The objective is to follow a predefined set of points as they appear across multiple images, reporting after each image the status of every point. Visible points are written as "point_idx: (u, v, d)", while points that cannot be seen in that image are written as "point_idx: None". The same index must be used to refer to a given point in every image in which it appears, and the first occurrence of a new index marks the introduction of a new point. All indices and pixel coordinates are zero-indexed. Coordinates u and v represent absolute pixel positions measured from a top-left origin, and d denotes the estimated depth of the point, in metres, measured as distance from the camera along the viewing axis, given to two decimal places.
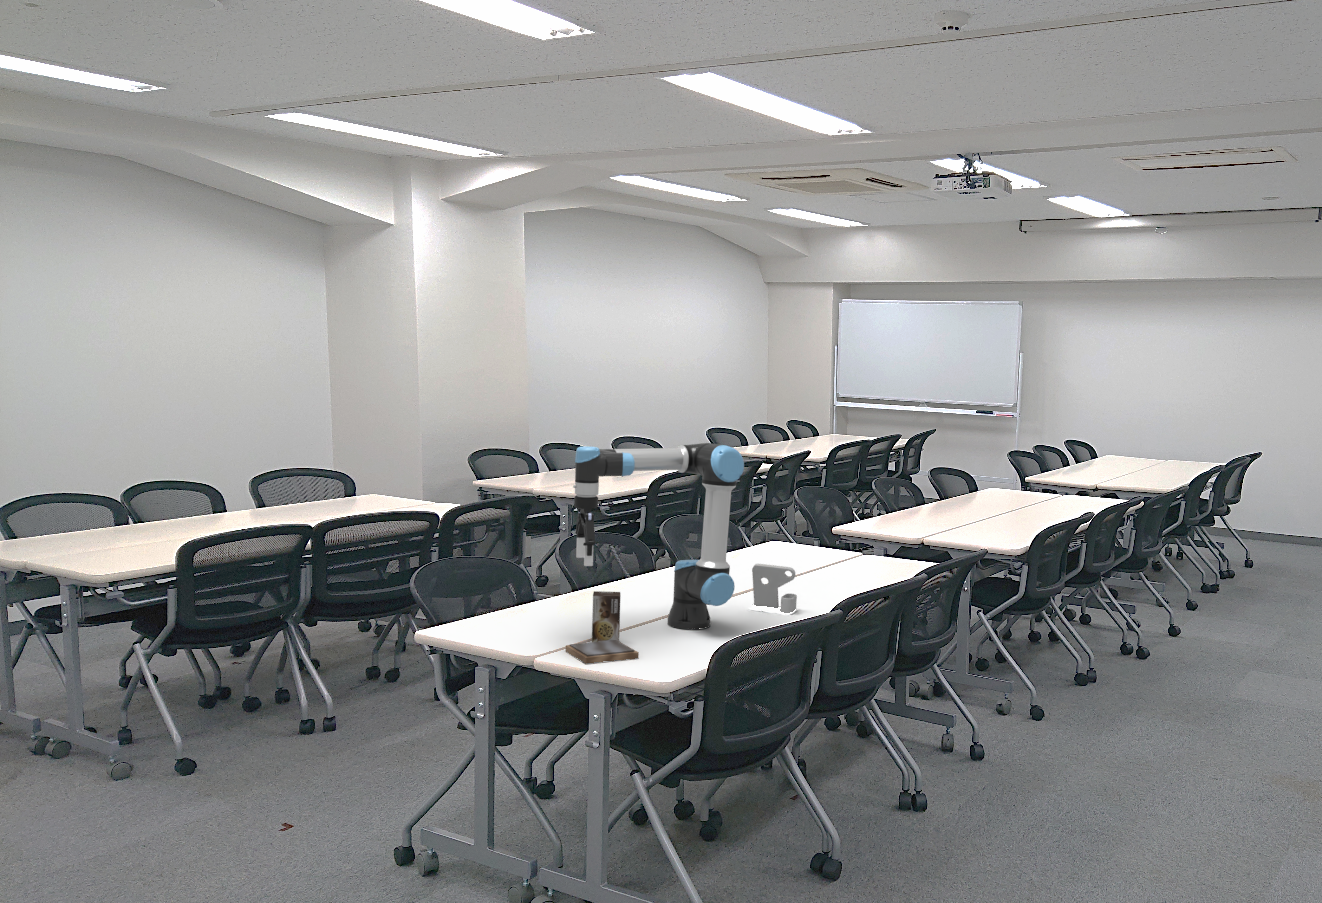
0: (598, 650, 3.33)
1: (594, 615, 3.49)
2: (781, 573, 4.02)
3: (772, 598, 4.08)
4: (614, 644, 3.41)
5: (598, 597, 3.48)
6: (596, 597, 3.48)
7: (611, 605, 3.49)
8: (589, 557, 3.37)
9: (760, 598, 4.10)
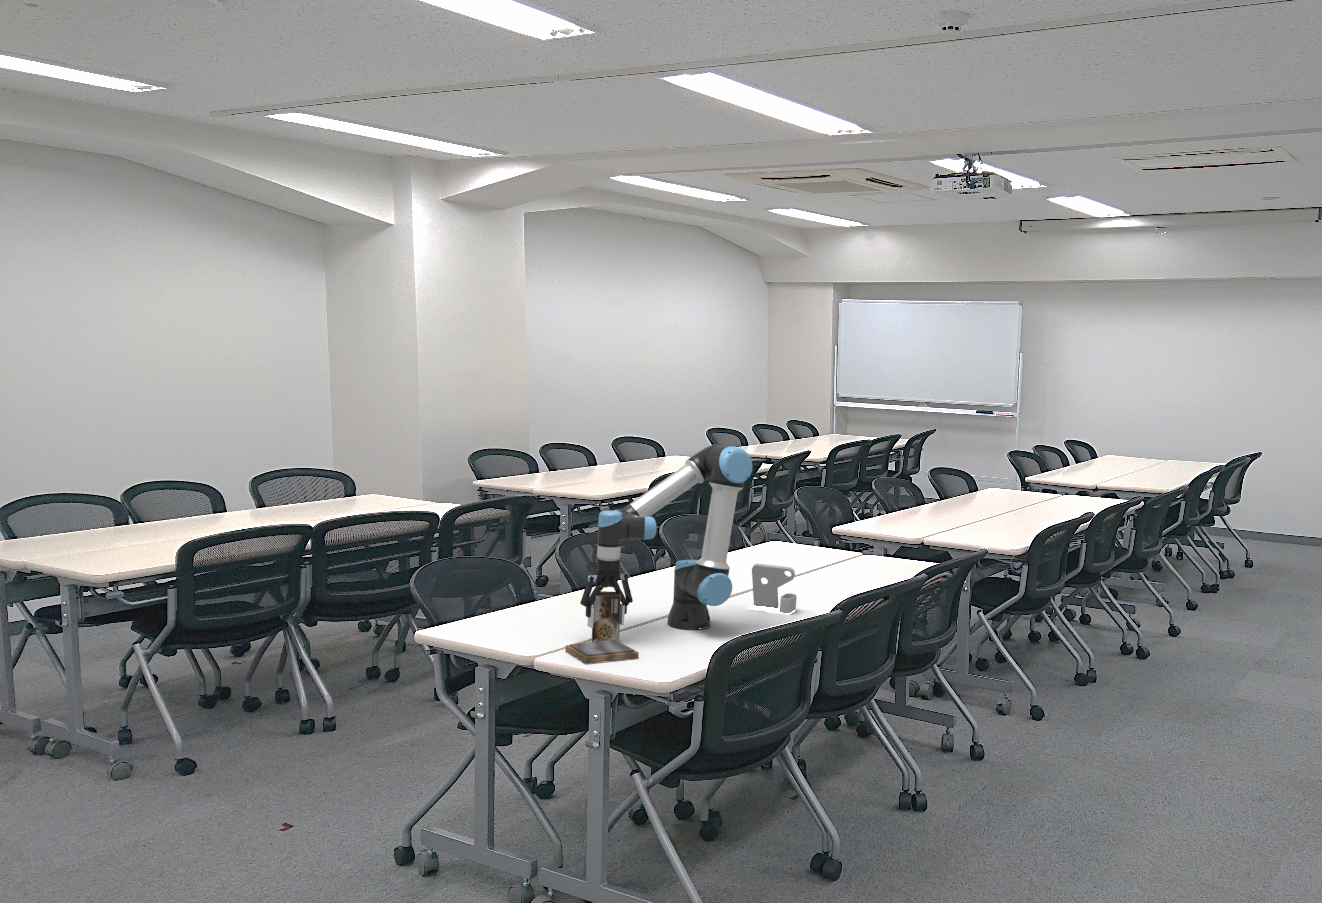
0: (598, 650, 3.33)
1: (594, 615, 3.49)
2: (780, 573, 4.02)
3: (772, 598, 4.08)
4: (614, 644, 3.41)
5: (598, 597, 3.48)
6: (596, 597, 3.48)
7: (611, 605, 3.49)
8: (589, 618, 3.49)
9: (760, 598, 4.10)
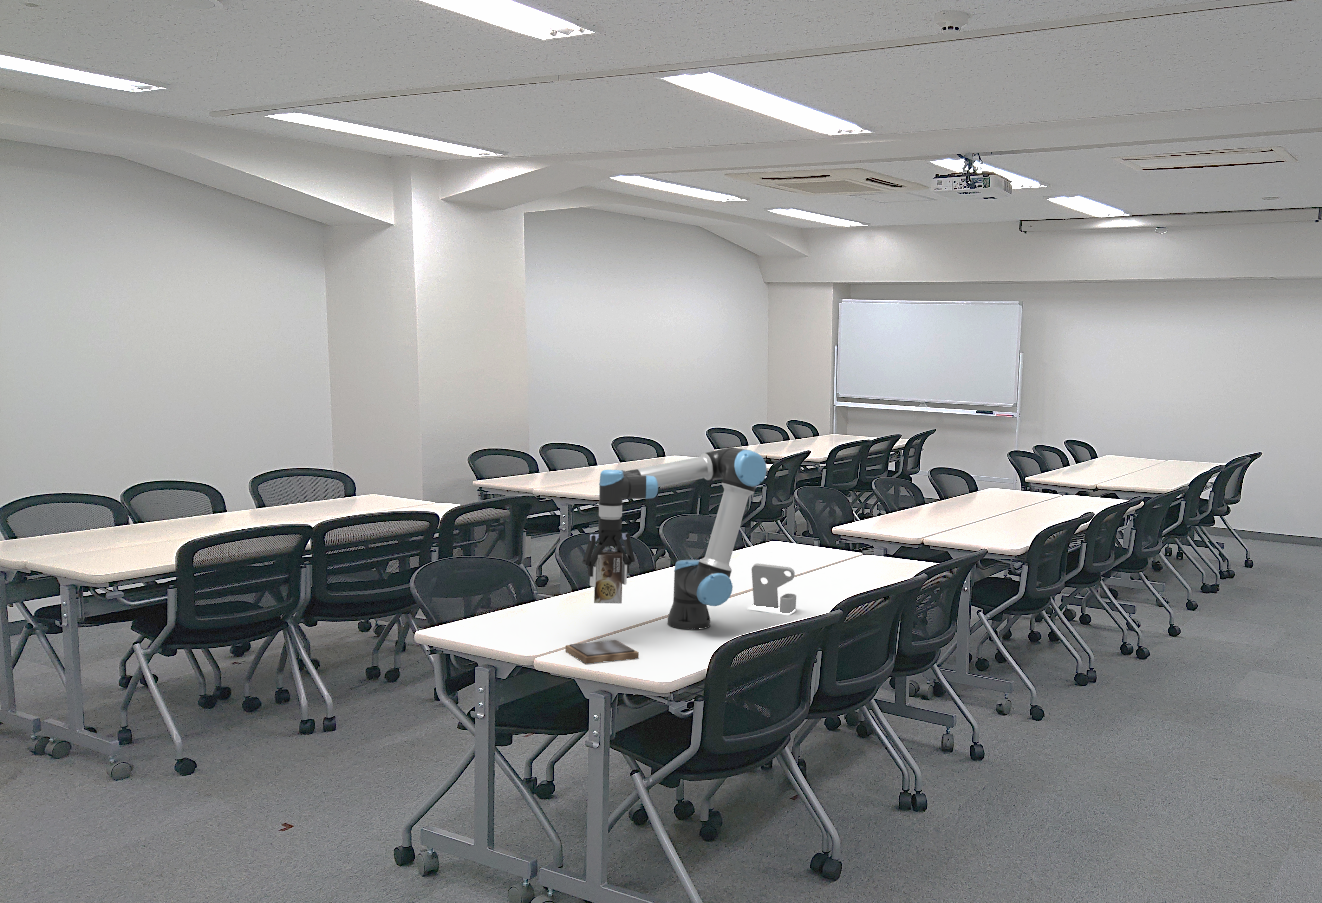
0: (598, 650, 3.33)
1: (596, 574, 3.48)
2: (780, 573, 4.02)
3: (771, 598, 4.08)
4: (614, 644, 3.41)
5: (600, 556, 3.47)
6: (598, 556, 3.47)
7: (613, 564, 3.48)
8: (592, 578, 3.48)
9: (760, 598, 4.10)
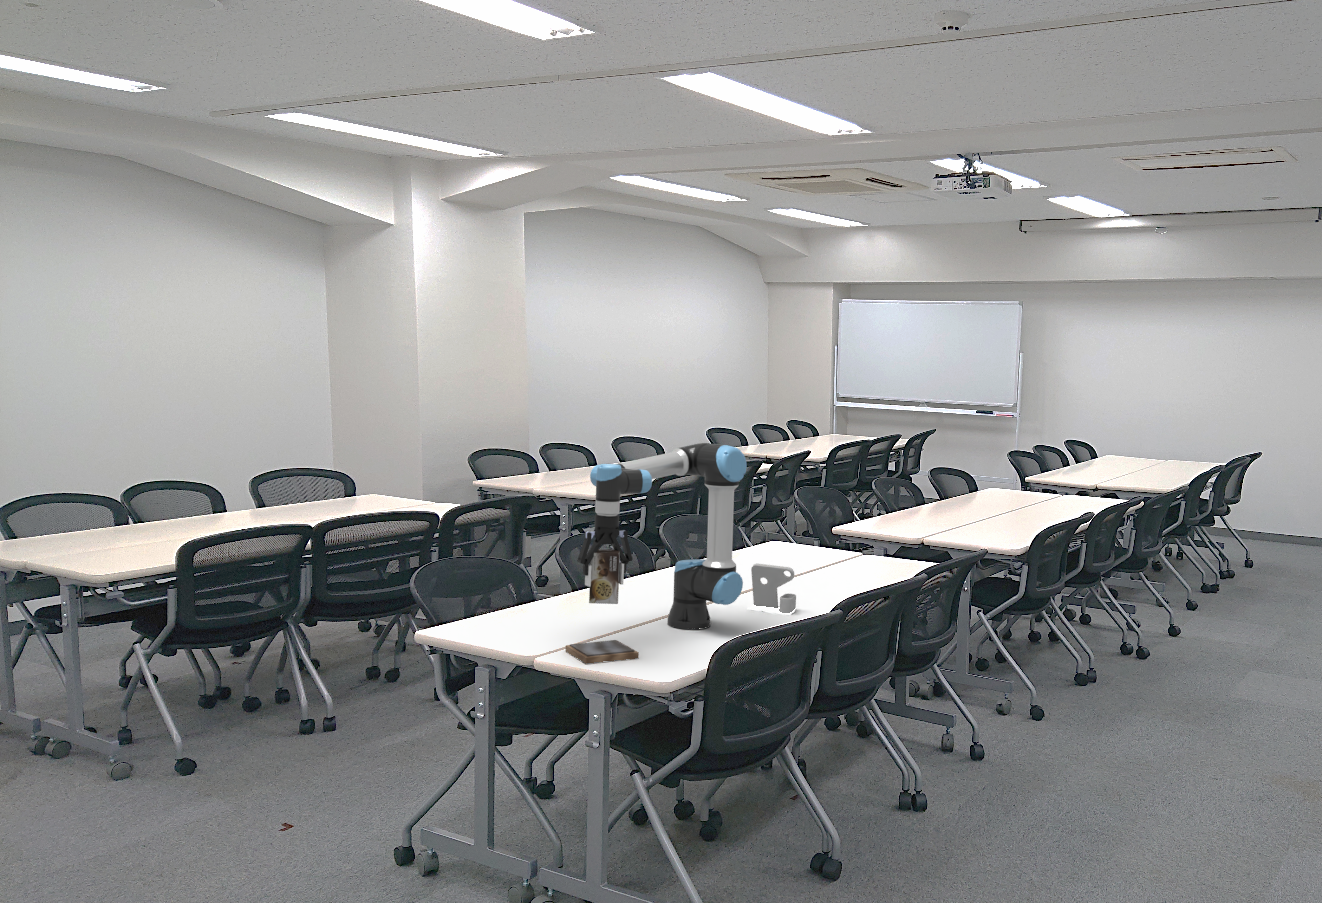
0: (598, 650, 3.33)
1: (592, 573, 3.32)
2: (780, 573, 4.02)
3: (771, 598, 4.08)
4: (614, 644, 3.41)
5: (596, 554, 3.32)
6: (594, 554, 3.32)
7: (609, 563, 3.32)
8: (587, 577, 3.32)
9: (759, 598, 4.10)
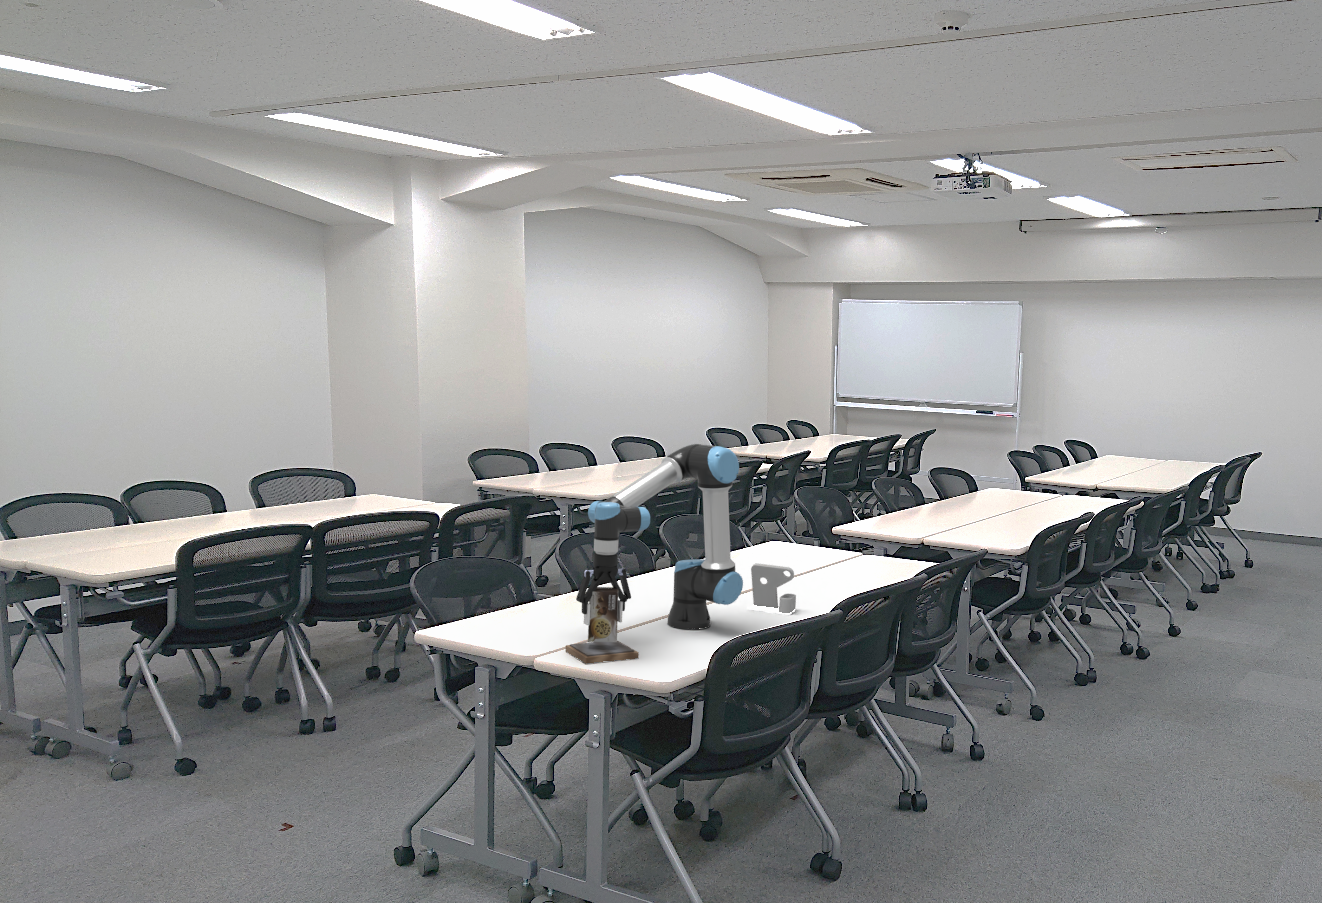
0: (598, 650, 3.33)
1: (590, 612, 3.32)
2: (780, 573, 4.02)
3: (771, 598, 4.08)
4: (614, 644, 3.41)
5: (595, 593, 3.32)
6: (593, 593, 3.32)
7: (608, 601, 3.32)
8: (586, 615, 3.33)
9: (759, 598, 4.10)
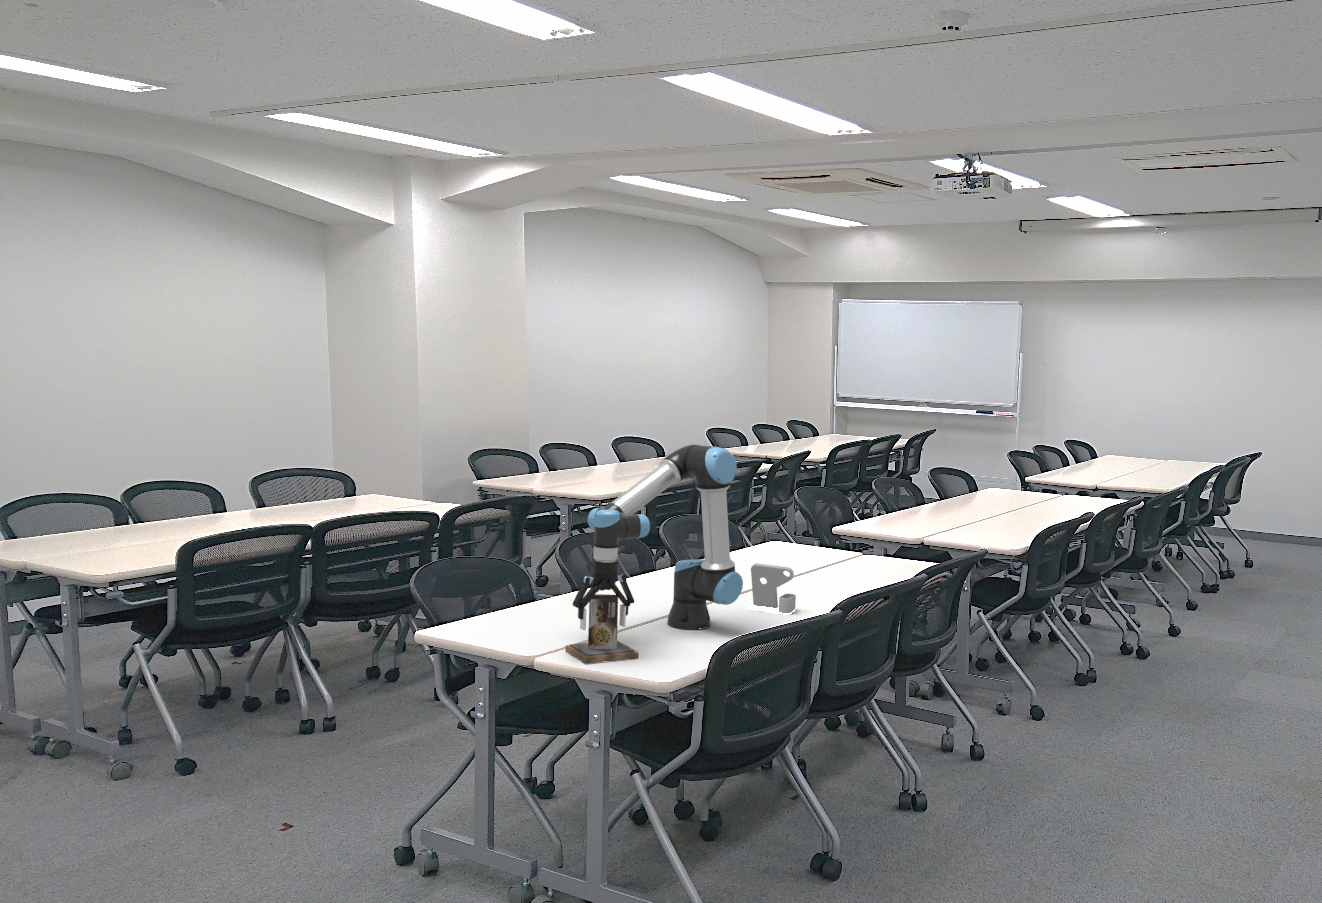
0: (598, 650, 3.33)
1: (590, 619, 3.33)
2: (779, 573, 4.02)
3: (771, 598, 4.08)
4: None
5: (595, 600, 3.32)
6: (592, 600, 3.32)
7: (608, 609, 3.33)
8: (582, 620, 3.32)
9: (759, 598, 4.10)
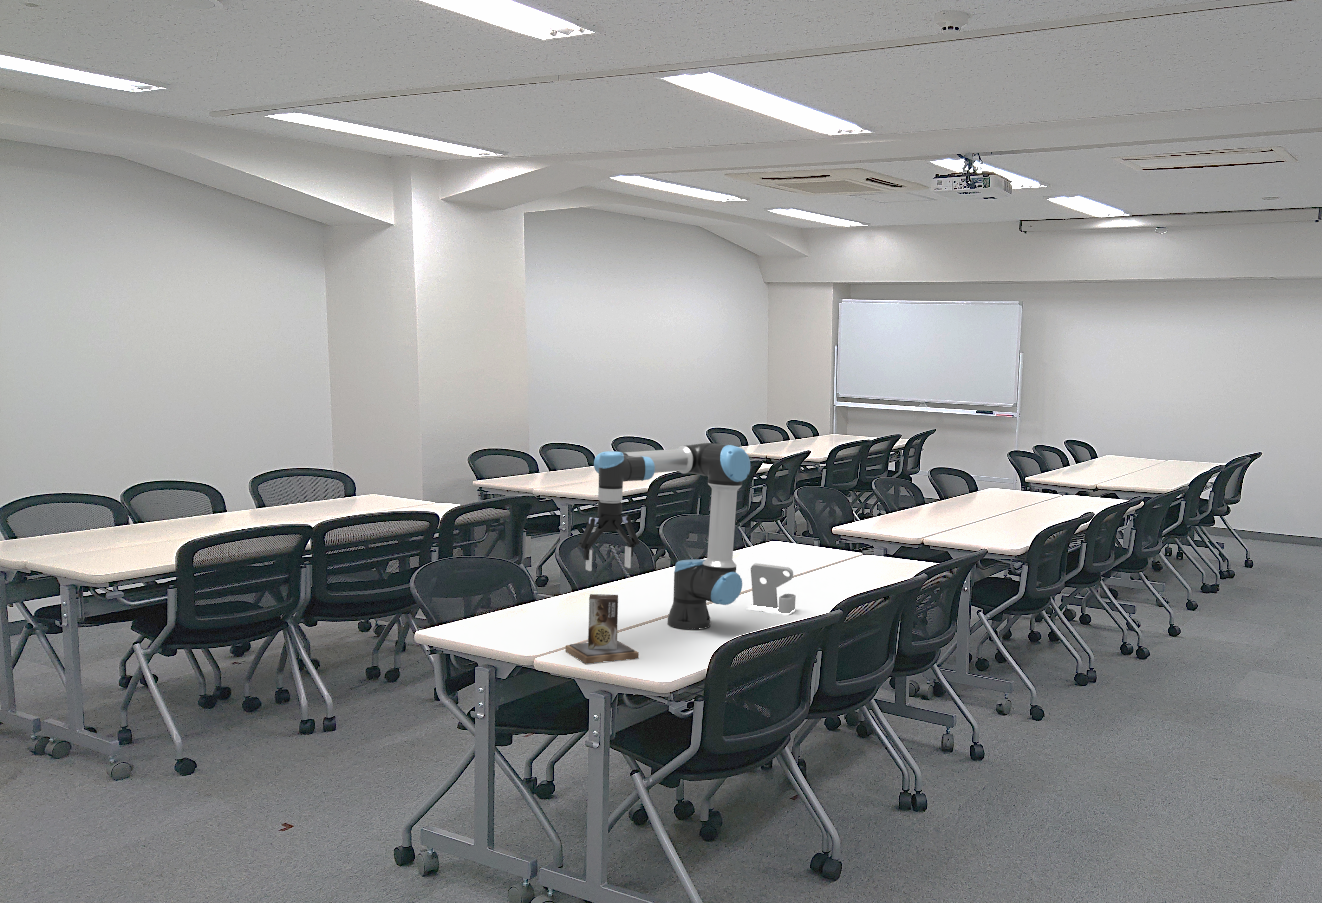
0: (598, 650, 3.33)
1: (590, 619, 3.33)
2: (779, 573, 4.02)
3: (771, 598, 4.08)
4: None
5: (595, 600, 3.32)
6: (592, 600, 3.32)
7: (608, 609, 3.33)
8: (587, 561, 3.34)
9: (759, 598, 4.10)
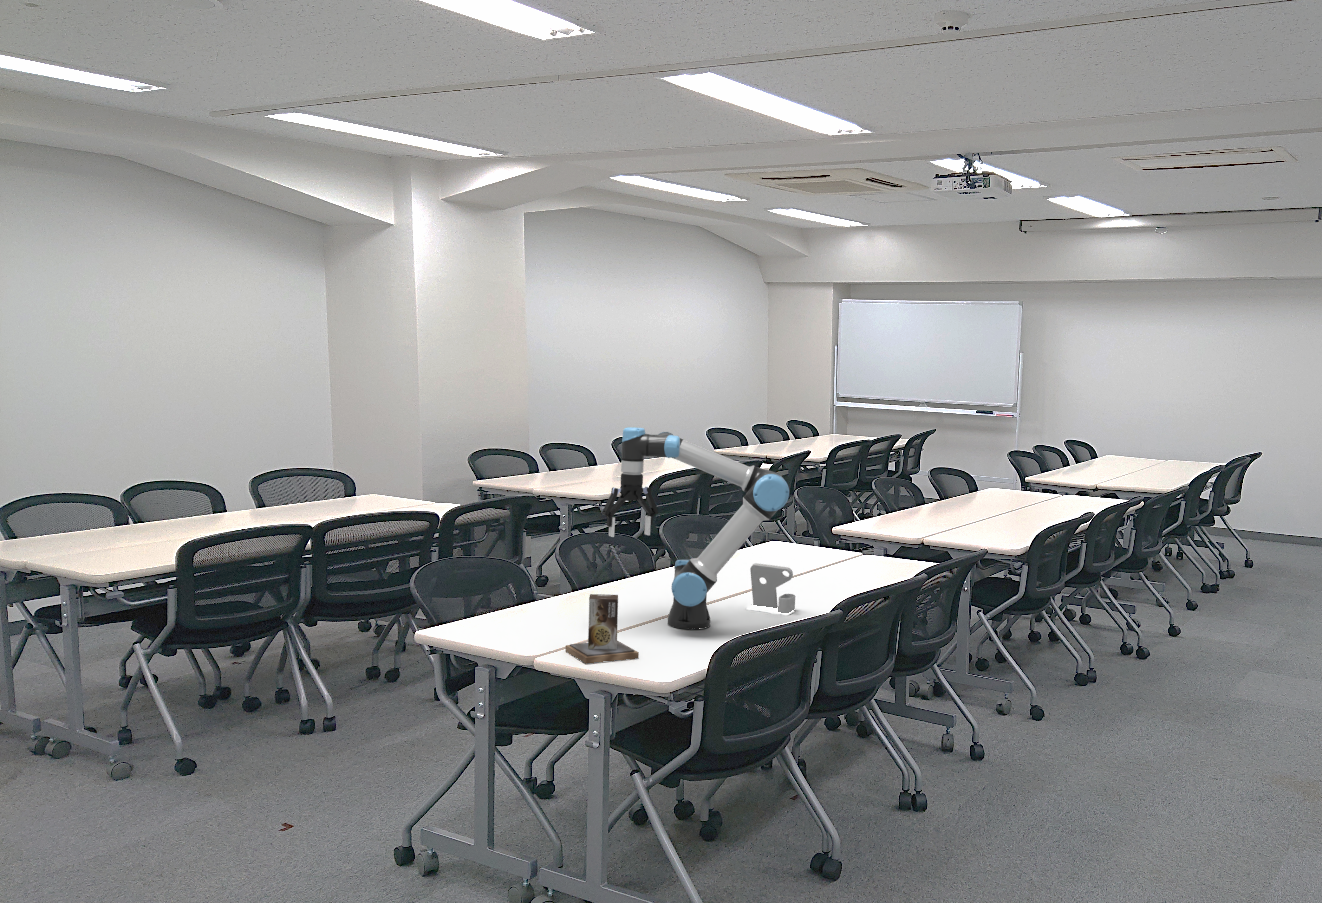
0: (598, 650, 3.33)
1: (590, 619, 3.33)
2: (778, 573, 4.02)
3: (770, 598, 4.08)
4: None
5: (595, 600, 3.32)
6: (592, 600, 3.32)
7: (608, 609, 3.33)
8: (610, 528, 3.62)
9: (759, 598, 4.10)
